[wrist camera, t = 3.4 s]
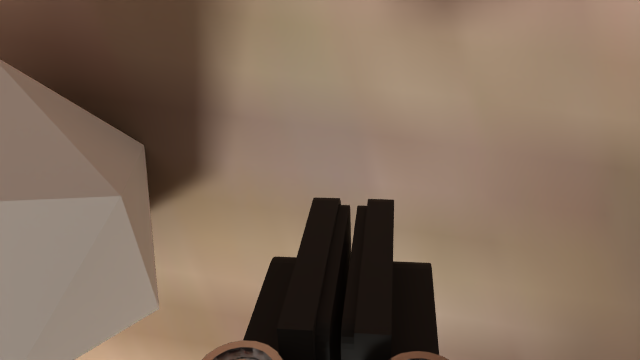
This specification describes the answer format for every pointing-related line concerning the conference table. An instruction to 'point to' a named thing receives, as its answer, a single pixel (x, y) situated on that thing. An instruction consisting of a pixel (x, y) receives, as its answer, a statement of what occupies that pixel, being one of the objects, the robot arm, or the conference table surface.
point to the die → (68, 226)
